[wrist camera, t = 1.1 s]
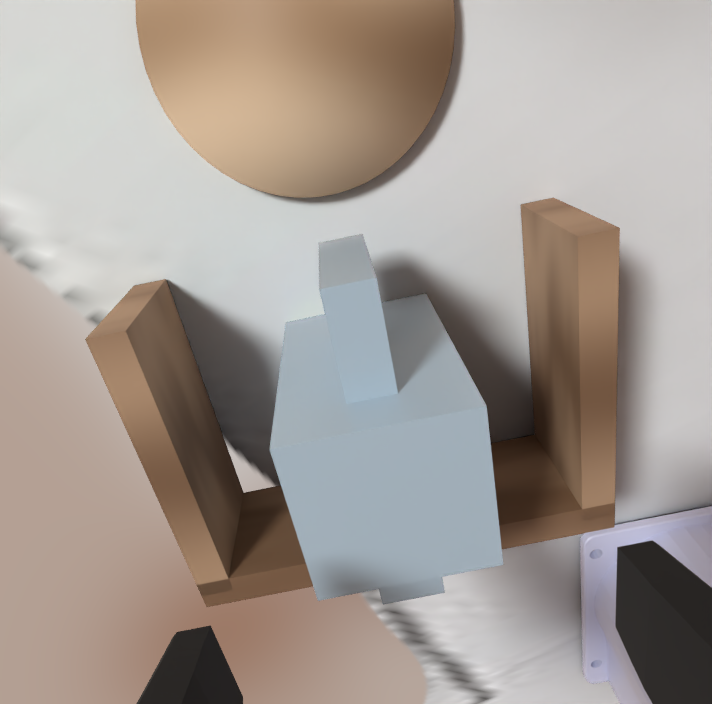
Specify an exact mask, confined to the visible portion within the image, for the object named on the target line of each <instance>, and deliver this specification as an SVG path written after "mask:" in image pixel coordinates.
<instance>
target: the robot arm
mask: <svg viewBox="0 0 712 704" xmlns="http://www.w3.org/2000/svg"><path fill="white" fill-rule="evenodd" d="M593 550H594V551H593ZM580 560H581V611H582V662H583V675H584V677H585V679H586V681H587V682H589V683H592V684H594V683H601V682H606V681H609V683H610V685H611V687H612V689H613V691H614V693H615V695H616V697H617V699H618V701H619V703H620V704H712V506H709V507H704V508H699V509H694V510H689V511H684V512H679V513H674V514H669V515H663V516H658V517H653V518H648V519H643V520H638V521H633V522H628V523H623V524H618V525H614V527H613V528H608V529H603V530H598V531H593V532H588V533H584V534H583V535H582V537H581V539H580ZM137 704H243V696H242V694H241V692H240V690H239V687H238V685H237V683H236V681H235V678H234V676H233V674H232V672H231V670H230V668H229V665H228V663H227V661H226V659H225V656H224V654H223V652H222V650H221V648H220V646H219V643H218V641H217V639H216V637H215V634H214V632H213V630H212V628H211V626H206V627H201V628H196V629H191V630H186V631H180V632H177V633H176V634H175V635H174V637H173V638H172V640H171V642H170V644H169V645H168V647H167V649H166V651H165V653H164V655H163V656H162V658H161V660H160V662H159V664H158V666H157V668H156V669H155V671H154V673H153V675H152V677H151V679H150V680H149V682H148V684H147V686H146V688H145V690H144V691H143V693H142V695H141V697H140V699H139V700H138V702H137Z"/></svg>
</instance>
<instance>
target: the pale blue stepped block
mask: <svg viewBox="0 0 712 704" xmlns="http://www.w3.org/2000/svg"><path fill="white" fill-rule="evenodd" d="M319 290H320V294H321V299H322V303H323V307H324V311H325V314H324V315H319V316H314V317H309V318H304V319H299V320H295V321H290V322H286V325H285V333H284V341H283V348H282V356H281V364H280V372H279V379H278V387H277V395H276V403H275V410H274V418H273V426H272V434H271V441H270V449H269V450H270V453H271V456H272V459H273V462H274V465H275V468H276V472H277V475H278V478H279V481H280V484H281V487H282V490H283V493H284V496H285V500H286V503H287V506H288V509H289V512H290V515H291V518H292V521H293V524H294V527H295V531H296V534H297V537H298V540H299V543H300V546H301V549H302V552H303V555H304V559H305V562H306V565H307V568H308V571H309V574H310V577H311V580H312V583H313V587H314V590H315V593H316V596H317V599H318V601H319V600H324V599H329V598H335V597H340V596H345V595H349V594H355V593H360V592H366V591H371V590H376V589H379V591H380V595H381V599H382V603H383V604H388V603H394V602H399V601H404V600H409V599H414V598H419V597H425V596H430V595H435V594H440V593H445V591H444V585H443V579H442V577H443V576H448V575H453V574H459V573H464V572H469V571H474V570H479V569H485V568H490V567H495V566H500V565H503V557H502V547H501V538H500V528H499V519H498V509H497V500H496V490H495V481H494V471H493V462H492V452H491V443H490V433H489V424H488V414H487V406H486V404H485V402H484V400H483V398H482V396H481V395H480V393H479V391H478V389H477V387H476V385H475V383H474V382H473V380H472V378H471V376H470V374H469V372H468V370H467V369H466V367H465V365H464V363H463V361H462V359H461V357H460V356H459V354H458V352H457V350H456V348H455V346H454V344H453V343H452V341H451V339H450V337H449V335H448V333H447V331H446V330H445V328H444V326H443V324H442V322H441V320H440V318H439V317H438V315H437V313H436V311H435V309H434V307H433V305H432V304H431V302H430V300H429V298H428V296H427V294H426V293H425V294H420V295H415V296H411V297H406V298H401V299H396V300H391V301H386V302H382V303H381V299H380V293H379V288H378V283H377V277H376V274H375V271H374V268H373V265H372V262H371V259H370V256H369V252H368V249H367V246H366V243H365V240H364V237H363V234H359V235H354V236H350V237H345V238H340V239H335V240H330V241H326V242H321V243H319Z"/></svg>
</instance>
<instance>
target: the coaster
mask: <svg viewBox="0 0 712 704" xmlns="http://www.w3.org/2000/svg"><path fill="white" fill-rule="evenodd" d="M136 24H137V31H138V38H139V45H140V50H141V53H142V57H143V61H144V65H145V69H146V72H147V74H148V77H149V79H150V82H151V85H152V87H153V90H154V92H155V94H156V96H157V98H158V100H159V102H160V104H161V106H162V108H163V110H164V112H165V113H166V115H167V116H168V118H169V119H170V121H171V122H172V124H173V125H174V127H175V128H176V130H177V131H178V132H179V133H180V134H181V136H182V137H183V138H184V139H185V140H186V141H187V143H188V144H189V145H190V146H191V147H192V148H193V149H194V150H195V151H196V152H197V153H198V154H199V155H200V156H201V157H202V158H204V159H205V160H206V161H207V162H208V163H210V164H211V165H212V166H214V167H215V168H216V169H218V170H219V171H220V172H222V173H223V174H225V175H227V176H229V177H230V178H232V179H234V180H236V181H238V182H239V183H241V184H244V185H246V186H249V187H251V188H254V189H256V190H259V191H263V192H267V193H270V194H274V195H279V196H287V197H295V198H296V197H320V196H327V195H333V194H336V193H340V192H344V191H347V190H350V189H353V188H355V187H357V186H359V185H362V184H364V183H366V182H368V181H370V180H371V179H373V178H375V177H376V176H378V175H380V174H381V173H383V172H384V171H386V170H387V169H388V168H389V167H391V166H392V165H393V164H394V163H396V162H397V161H398V160H399V159H400V158H401V157H402V156H403V155H404V154H405V153H406V152H407V151H408V150H409V149H410V148H411V147H412V145H413V144H414V143H415V141H416V140H417V139H418V138H419V136H420V135H421V134H422V132H423V131H424V129H425V128H426V126H427V124H428V122H429V121H430V119H431V117H432V116H433V114H434V112H435V110H436V107H437V105H438V103H439V101H440V98H441V96H442V94H443V91H444V87H445V84H446V81H447V78H448V74H449V71H450V65H451V60H452V54H453V48H454V33H455V14H454V0H136Z"/></svg>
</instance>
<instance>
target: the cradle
mask: <svg viewBox="0 0 712 704" xmlns="http://www.w3.org/2000/svg"><path fill="white" fill-rule="evenodd" d="M521 218H522V234H523V251H524V267H525V283H526V300H527V316H528V332H529V348H530V365H531V381H532V397H533V414H534V430H535V435H530V436H525V437H520V438H515V439H510V440H505V441H500V442H495V443H491V452H492V462H493V471H494V481H495V490H496V500H497V509H498V519H499V528H500V538H501V547H502V549H506V548H511V547H516V546H521V545H527V544H532V543H537V542H542V541H547V540H552V539H557V538H562V537H567V536H573V535H578V534H583V533H588V532H593V531H598V530H603V529H608V528H613V527H614V525H615V467H616V409H617V350H618V292H619V234H620V228H619V227H616V226H614V225H612V224H610V223H608V222H605V221H603V220H601V219H599V218H597V217H595V216H592V215H590V214H588V213H586V212H584V211H581V210H579V209H577V208H575V207H573V206H571V205H568V204H566V203H564V202H562V201H560V200H557V199H555V198H550V199H545V200H540V201H535V202H531V203H526V204H521ZM85 340H86V342H87V344H88V346H89V349H90V351H91V353H92V355H93V357H94V360H95V362H96V364H97V366H98V368H99V370H100V372H101V375H102V377H103V379H104V382H105V384H106V386H107V388H108V390H109V393H110V395H111V397H112V399H113V401H114V404H115V406H116V408H117V410H118V412H119V414H120V417H121V419H122V421H123V423H124V426H125V428H126V430H127V432H128V435H129V437H130V439H131V441H132V443H133V446H134V448H135V450H136V452H137V454H138V457H139V459H140V461H141V463H142V465H143V467H144V470H145V472H146V474H147V476H148V478H149V481H150V483H151V485H152V487H153V490H154V492H155V494H156V496H157V498H158V501H159V503H160V505H161V507H162V509H163V512H164V514H165V516H166V518H167V520H168V523H169V525H170V527H171V529H172V532H173V534H174V536H175V538H176V540H177V543H178V545H179V547H180V549H181V551H182V553H183V556H184V558H185V560H186V562H187V564H188V567H189V569H190V571H191V573H192V575H193V578H194V580H195V582H196V584H197V587H198V589H199V591H200V593H201V595H202V598H203V600H204V602H205V604H206V606H207V607H210V606H215V605H220V604H225V603H231V602H236V601H241V600H246V599H251V598H256V597H261V596H266V595H271V594H276V593H282V592H287V591H292V590H297V589H302V588H307V587H311V586H313V583H312V580H311V577H310V574H309V571H308V568H307V565H306V562H305V559H304V555H303V552H302V549H301V546H300V543H299V540H298V537H297V534H296V531H295V527H294V524H293V521H292V518H291V515H290V512H289V509H288V506H287V503H286V500H285V496H284V493H283V490H282V487H281V486H276V487H271V488H266V489H261V490H256V491H251V492H246V493H243V490H242V488H241V485H240V482H239V479H238V477H237V474H236V471H235V468H234V465H233V463H232V460H231V457H230V454H229V452H228V449H227V446H226V443H225V441H224V438H223V435H222V432H221V430H220V427H219V424H218V421H217V419H216V416H215V413H214V410H213V408H212V405H211V402H210V399H209V397H208V394H207V391H206V388H205V386H204V383H203V380H202V377H201V375H200V372H199V369H198V366H197V363H196V361H195V358H194V355H193V352H192V350H191V347H190V344H189V341H188V339H187V336H186V333H185V330H184V328H183V325H182V322H181V319H180V317H179V314H178V311H177V308H176V306H175V303H174V300H173V297H172V295H171V292H170V289H169V286H168V284H167V281H166V279H164V280H159V281H154V282H150V283H145V284H140V285H135V286H133V288H132V289H131V290H130V291H129V292H128V293H127V294H126V295H125V296H124V297H123V298H122V300H121V301H120V302H119V303H118V304H117V305H116V306H115V307H114V308H113V309H112V311H111V312H110V313H109V314H108V315H107V316H106V317H105V318H104V319H103V320H102V321H101V323H100V324H99V325H98V326H97V327H96V328H95V329H94V330H93V331H92V332H91V334H90V335H89V336H88V337H87V338H86V339H85Z"/></svg>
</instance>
